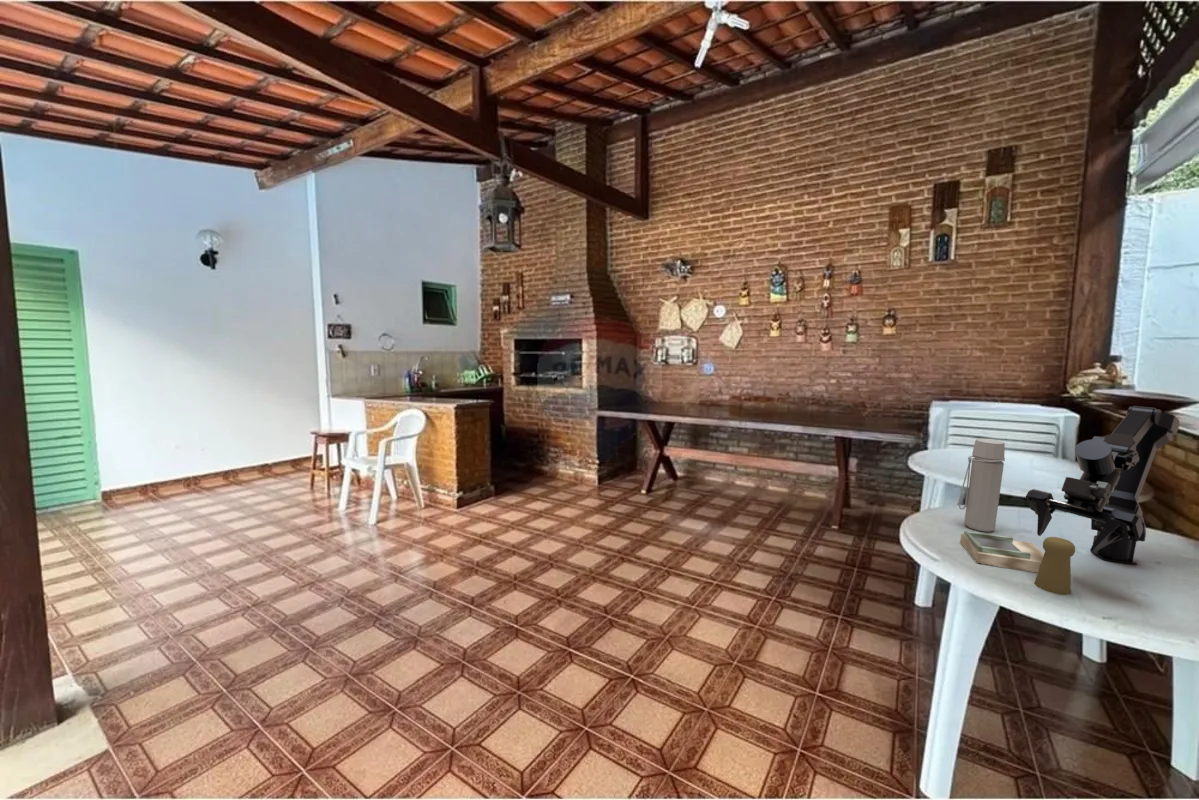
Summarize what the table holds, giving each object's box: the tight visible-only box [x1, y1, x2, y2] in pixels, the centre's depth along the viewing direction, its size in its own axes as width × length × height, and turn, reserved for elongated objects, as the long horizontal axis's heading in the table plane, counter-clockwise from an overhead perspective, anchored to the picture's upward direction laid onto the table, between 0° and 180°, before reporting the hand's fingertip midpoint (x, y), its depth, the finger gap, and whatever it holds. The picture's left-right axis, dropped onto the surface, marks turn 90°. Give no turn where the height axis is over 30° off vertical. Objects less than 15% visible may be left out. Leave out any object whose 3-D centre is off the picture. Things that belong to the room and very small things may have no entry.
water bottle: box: [958, 438, 1006, 533], centre depth 144 cm, size 9×8×25 cm
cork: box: [1033, 536, 1076, 596], centre depth 111 cm, size 6×6×11 cm
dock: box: [959, 530, 1045, 573], centre depth 126 cm, size 15×13×4 cm
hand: (1064, 542), depth 111 cm, fingers open, 9 cm apart
